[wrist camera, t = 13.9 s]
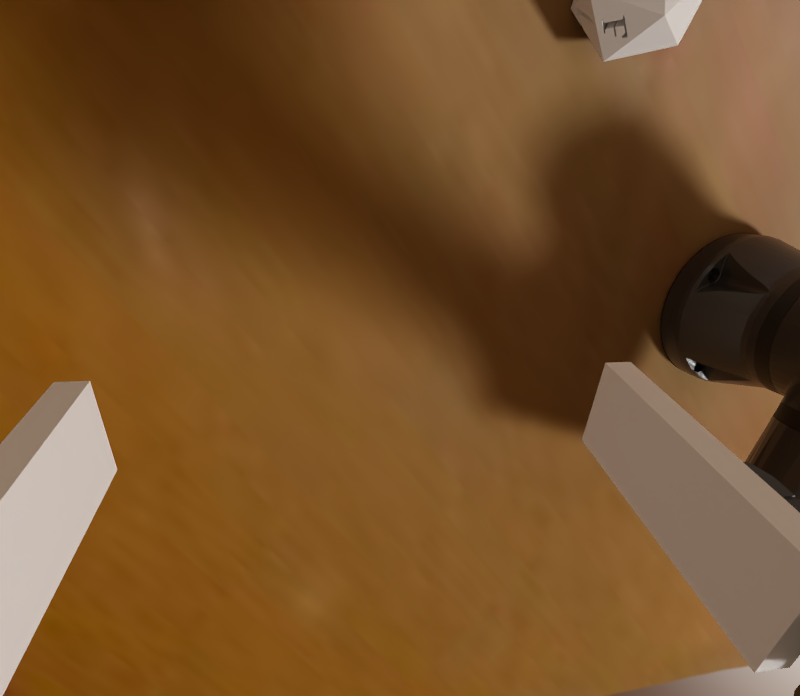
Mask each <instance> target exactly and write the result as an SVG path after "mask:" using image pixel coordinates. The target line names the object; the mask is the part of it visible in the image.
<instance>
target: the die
mask: <svg viewBox="0 0 800 696" xmlns="http://www.w3.org/2000/svg"><path fill="white" fill-rule="evenodd" d="M701 2H702V0H573V3H572V6H571V10H572V12H573V14H574V15H575V17H576V18H577V20H578V22H579V23H580V25H581V26H583V30H584V31H585V33H586V34H587V36H588V38H589V39H590V41H591V42H592V44H593V46H594V47H595V49H596V50H597V52H598V54H599V55H600V57H601V58H602V60H603V62H604V61H609V60H613V59H618V58H623V57H627V56H632V55H636V54H641V53H645V52H650V51H655V50H659V49H664V48H668V47H673V46H677V45H678V44H679V42H680V41H681V39H682V37H683V35H684V33H685V31H686V29H687V28H688V26H689V24H690V22H691V20H692V18H693V16H694V15H695V13H696V11H697V9H698V7H699V5H700V4H701Z"/></svg>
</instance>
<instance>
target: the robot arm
mask: <svg viewBox="0 0 800 696" xmlns="http://www.w3.org/2000/svg"><path fill="white" fill-rule="evenodd" d="M661 336H662V342H663V346H664V349H665V352H666V354H667V356H668V357H669V359H670V360H671V362H672V363H673V364H674V365H675V366H676V367H678V368H679V369H681V370H683V371H685V372H687V373H689V374H691V375H693V376H695V377H697V378H700V379H703V380H706V381H711V382H719V383H728V384H737V385H746V386H754V387H763V388H766V389H769V390H771V391H774V392H776V393H778V394H781V395H783V396H784V398H783V399H782V401H781V403H780V405H779V406H778V408H777V410H776V412H775V413H774V415H773V416H772V418H771V420H770V422H769V423H768V425H767V427H766V428H765V430H764V432H763V433H762V435H761V437H760V438H759V440H758V441H757V443H756V445H755V446H754V448H753V450H752V451H751V453H750V455H749V456H748V458H747V460H746V461H745V462H742V461H741V460H740V459H739V458H738V457H737V456H736V455H734V454H733V453H732V452H731V451H730V450H729V449H728V448H727V447H725V446H724V445H723V444H722V443H721V442H720V441H719V440H718V439H716V438H715V437H714V436H713V435H712V434H711V433H710V432H709V431H708V430H706V429H705V428H704V427H703V426H702V425H701V424H700V423H699V422H697V421H696V420H695V419H694V418H693V417H692V416H691V415H690V414H688V413H687V412H686V411H685V410H684V409H683V408H682V407H681V406H679V405H678V404H677V403H676V402H675V401H674V400H673V399H672V398H670V397H669V396H668V395H667V394H666V393H665V392H664V391H663V390H662V389H660V388H659V387H658V386H657V385H656V384H655V383H654V382H653V381H651V380H650V379H649V378H648V377H647V376H646V375H645V374H644V373H642V372H641V371H640V370H639V369H638V368H637V367H636V366H635V365H633V364H632V363H631V362H611V363H605V366H604V369H603V372H602V375H601V379H600V382H599V385H598V389H597V392H596V395H595V398H594V402H593V405H592V408H591V412H590V415H589V418H588V421H587V425H586V428H585V431H584V435H583V438H582V441H583V443H584V444H585V445H586V447H587V448H588V449H589V451H590V452H591V453H592V455H593V456H594V457H595V459H596V460H597V461H598V463H599V464H600V465H601V467H602V468H603V469H604V471H605V472H606V474H607V475H608V476H609V478H610V479H611V480H612V482H613V483H614V484H615V486H616V487H617V488H618V490H619V491H620V492H621V494H622V495H623V496H624V498H625V499H626V500H627V502H628V503H629V505H630V506H631V507H632V509H633V510H634V511H635V513H636V514H637V515H638V517H639V518H640V519H641V521H642V522H643V523H644V525H645V526H646V527H647V529H648V530H649V531H650V533H651V534H652V536H653V537H654V538H655V540H656V541H657V542H658V544H659V545H660V546H661V548H662V549H663V550H664V552H665V553H666V554H667V556H668V557H669V558H670V560H671V561H672V562H673V564H674V565H675V567H676V568H677V569H678V571H679V572H680V573H681V575H682V576H683V577H684V579H685V580H686V581H687V583H688V584H689V585H690V587H691V588H692V589H693V591H694V592H695V593H696V595H697V596H698V597H699V599H700V600H701V602H702V603H703V604H704V606H705V607H706V608H707V610H708V611H709V612H710V614H711V615H712V616H713V618H714V619H715V620H716V622H717V623H718V624H719V626H720V627H721V628H722V630H723V631H724V633H725V634H726V635H727V637H728V638H729V639H730V641H731V642H732V643H733V645H734V646H735V647H736V649H737V650H738V651H739V653H740V654H741V655H742V657H743V658H744V659H745V661H746V662H747V664H748V665H749V666H750V668H751V669H752V670H753V671H754V673H757V672H763V671H769V670H776V669H782V668H788V667H790V666H791V665H792V664H793V662H794V661H795V660H796V659H797V658H798V656H799V655H800V250H798V249H796V248H794V247H792V246H791V245H789V244H787V243H785V242H783V241H781V240H779V239H776V238H773V237H769V236H763V235H756V234H748V233H738V234H732V235H728V236H725V237H722V238H720V239H718V240H716V241H714V242H712V243H711V244H709V245H707V246H706V247H705V248H703V249H702V250H701V251H700V252H698V253H697V254H696V255H695V256H694V257H693V258H692V259H691V260H690V261H689V262H688V264H687V265H686V266H685V267H684V268H683V270H682V271H681V273H680V274H679V276H678V277H677V279H676V280H675V282H674V284H673V286H672V288H671V290H670V292H669V294H668V297H667V300H666V303H665V306H664V310H663V315H662V322H661ZM116 471H117V467H116V464H115V461H114V457H113V454H112V451H111V448H110V444H109V441H108V438H107V435H106V431H105V428H104V425H103V422H102V419H101V415H100V412H99V409H98V406H97V402H96V399H95V396H94V393H93V389H92V386H91V383H90V381H77V382H54V383H53V384H52V385H51V386H50V387H49V388H48V390H47V391H46V392H45V393H44V394H43V395H42V396H41V398H40V399H39V400H38V401H37V402H36V403H35V405H34V406H33V407H32V408H31V409H30V410H29V412H28V413H27V414H26V415H25V416H24V417H23V418H22V420H21V421H20V422H19V423H18V424H17V425H16V427H15V428H14V429H13V430H12V431H11V432H10V433H9V435H8V436H7V437H6V438H5V439H4V440H3V442H2V443H1V444H0V696H3V694H4V692H5V690H6V688H7V686H8V684H9V682H10V680H11V678H12V676H13V674H14V672H15V670H16V668H17V666H18V664H19V662H20V661H21V659H22V657H23V655H24V653H25V651H26V649H27V647H28V645H29V643H30V641H31V639H32V637H33V635H34V633H35V631H36V629H37V627H38V625H39V623H40V621H41V619H42V617H43V615H44V613H45V611H46V609H47V607H48V605H49V603H50V601H51V599H52V597H53V596H54V594H55V592H56V590H57V588H58V586H59V584H60V582H61V580H62V578H63V576H64V574H65V572H66V570H67V568H68V566H69V564H70V562H71V560H72V558H73V556H74V554H75V552H76V550H77V548H78V546H79V544H80V542H81V540H82V538H83V536H84V534H85V532H86V530H87V529H88V527H89V525H90V523H91V521H92V519H93V517H94V515H95V513H96V511H97V509H98V507H99V505H100V503H101V501H102V499H103V497H104V495H105V493H106V491H107V489H108V487H109V485H110V483H111V481H112V479H113V477H114V475H115V473H116ZM794 696H800V685H799V686H798V687H797V688H796V690H795V692H794Z"/></svg>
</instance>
